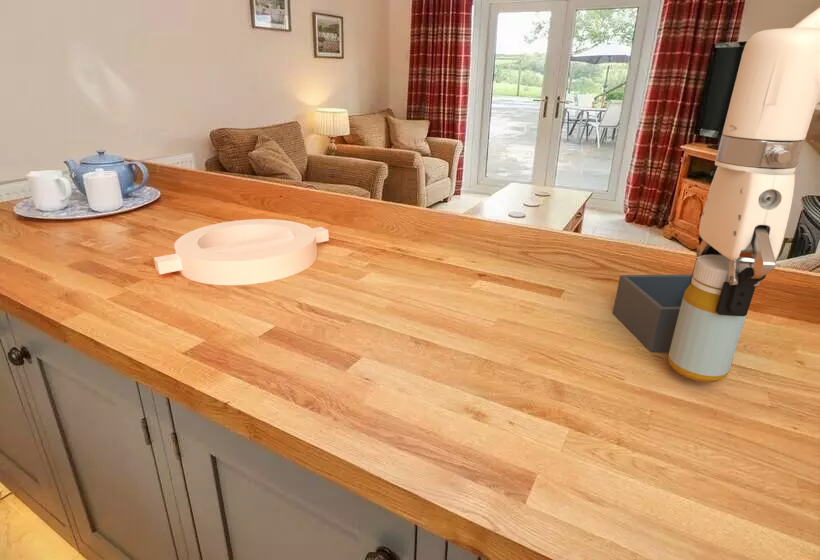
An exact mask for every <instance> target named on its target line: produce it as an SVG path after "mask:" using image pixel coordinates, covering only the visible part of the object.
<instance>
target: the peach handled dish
mask: <svg viewBox="0 0 820 560" xmlns="http://www.w3.org/2000/svg"><path fill="white" fill-rule="evenodd" d="M329 241H330V238H329V229H328V228H325V227H323V226H317V227H313V228H312V227H310V226H309V225H307V224H304V223H301V222H297V221H293V220H286V219H275V218H274V219H273V218H253V219H252V218H250V219H249V218H248V219H240V220H239V219H238V220H230V221H223V222H217V223H213V224H209V225H206V226H205V225H204V226H201V227H199V228H196V229H193V230H191V231H188V232H187V233H184V234H183V235H181V236H179V237H178V239H176V240H175V242H174V245H173V247H174V252H175V253H171V254H165V255H161V256H155V257H153V261H154V266H155V270H156V271H157V273H158V274H159V275H163V274H170V273H174V272H179V274H180V275H182V276H183V277H184V278H186V279H187V280H191V281H193V282H197V283H200V284H206V285H213V286H247V285H248V286H249V285H256V284H263V283H269V282H274V281H278V280H282V279H285V278H289V277H292V276H294V275H297V274H299V273H302V272H304V271H306V270H307V269H308V268H310V267H311V266H313V264H315V263H316V261H317V259H318V250H317V249H318V247H317V244H320V243H324V242H329Z"/></svg>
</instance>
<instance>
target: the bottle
mask: <svg viewBox="0 0 820 560" xmlns="http://www.w3.org/2000/svg"><path fill="white" fill-rule="evenodd" d="M696 258H697V260H696V259H695V262H696V264H695V263H694V266H695V267H694V266H693V269H694V271H693V270H692V273H693V277H692V281H691V284H690V285H689V286H688V288H687V289H686V290H685V292H684V296H683V299H682V303H681V307H680V311H679V315H678V319H677V323H676V327H675V331H674V335H673V339H672V343H671V347H670V351H669V352H668V357H667V360H668V363H669V364H670V366H671V367H672V369H673V370H674V371H675V372H677V374H679V375H680V376H683V377H685V378H687V379H690V380H693V381H696V382H697V381H698V382H702V383H715V382H718V381H721V380H723V379H725V378H727V377H728V375H729V372H730V369H731V366H732V363H733V360H734V356H735V353H736V350H737V346H738V344H739V341H740V338H741V334H742V331H743V328H744V324H745V321H746V318H747V315H746V316H728V315H719V314H718V313H717V312H716V308H717V304H718V301H719V297H720V294H721V290H722V287H723V283H724V282H728V277H729V259H728V258H726V257H725V256H724V255H702V256H699V257H696ZM747 267H748V268H749V264H741V263H739V273H740V272H741V271H742V270H744V269H745V268H747Z"/></svg>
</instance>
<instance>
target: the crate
mask: <svg viewBox="0 0 820 560" xmlns="http://www.w3.org/2000/svg"><path fill="white" fill-rule="evenodd" d="M691 277H692V274H691V273H690V274H689V273H688V274H687V273H686V274H679V273H677V274H620V275H619V277H618V284H617V289H616V293H615V298H614V305H613V309H612V314H613V315H614V316H615V317H616V319H618V320H619V321H620V323H622V324H623V325H624V326H625V328H626V329H627V330H628V331H630V332H631V334H633V336H634V337H635V338H636V339H637V340H638V341H639V342H640V343H641V344H642V345H643V346H644V347H645V348H646V349H647V350H648V351H649V352H650V353H669V351H670V347H671V343H672V339H673V335H674V331H675V327H676V323H677V319H678V315H679V311H680V307H681V303H682V299H683V296H684V292H685V290H686V289H687V288H688V286H689V285H690V281H691Z"/></svg>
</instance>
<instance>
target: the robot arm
mask: <svg viewBox="0 0 820 560" xmlns="http://www.w3.org/2000/svg"><path fill="white" fill-rule="evenodd" d="M817 105H820V6H818V8H816V9H814V11H812V12H811V13H809V14H808V15H807V16H805V17H804V18H803V19H802V20H800V21H799V22H798V23H796V24H795V25H794V26H792V27H784V28H783V27H782V28H770V29H769V28H768V29H764V30H760V31H757V32H755V33H753V34H752V35H751V36H750V37H749V38H748V39H747V41H746V43H745V45H744V47H743V50H742V53H741V58H740V61H739V66H738V71H737V72H736V77H735V81H734V85H733V89H732V93H731V96H730V102H729V105H728V110H727V113H726V116H725V122H724V125H723V129H722V132H721V133H722V134H721V137H720V140H719V145H718V150H717V153H716V157H715V162H714V166H716V170H715V173H714V175H713V178H712V181H711V184H710V186H709V190H708V193H707V195H706V198H705V199H706V200H705V202H704V206H703V211H702V213H701V217H700V220H699V223H698V226H699V227H698V235H699V236H698V237H697V241H698V245H699V246H698V247H697V249H696V251H695V255H696V258H695V262H694V266H693V270H692V277H693V271H694V267H695V264H696V260H697V258H698V257H699V256H702V255H723V256H725V257H726V258H728V259H729V277H728V282H724V283H723V287H722V290H721V294H720V297H719V301H718V304H717V308H716V312H717V313H718V314H719V315H728V316H746V317H747V315H748V313H749V309H750V306H751V303H752V299H753V296H754V293H755V290H756V288H758V287H759V286H760V284H761V281H763V280H764V279H766V277H767V275H769V273H771V272H772V271H773V270H774V269H775V268H776V265H777V262H776V261H777V259H778V257H779V255H780V251H781V248H782V245H783V242H784V238H785V234H786V231H787V228H788V227H787V226H788V222H789V219H790V213H791V209H792V204H793V203H792V202H793V199H794V192H795V182H796V174H795V172H796V169H797V166H798V163H799V160H800V157H801V154H802V150H803V148H804V144H805V141H806V138H807V134H808V131H809V128H810V125H811V122H812V119H813V116H814V112H815V109H816V106H817ZM741 254H750V256H741ZM739 263H741V264H749V268H748V267H747V268H745V269H744V270H742V271H741V272H740V273H739ZM692 277H691V281H692ZM691 281H690V284H691Z"/></svg>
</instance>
